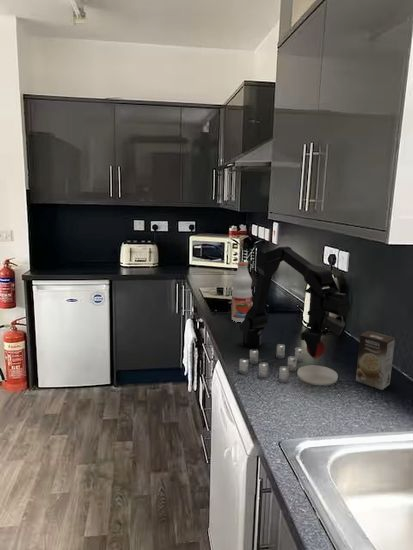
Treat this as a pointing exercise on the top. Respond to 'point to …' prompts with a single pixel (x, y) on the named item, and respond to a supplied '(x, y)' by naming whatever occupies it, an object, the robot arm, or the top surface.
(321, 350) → the onion
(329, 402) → the top surface
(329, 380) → the plate
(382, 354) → the coffee box
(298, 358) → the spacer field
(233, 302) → the fruit juice
